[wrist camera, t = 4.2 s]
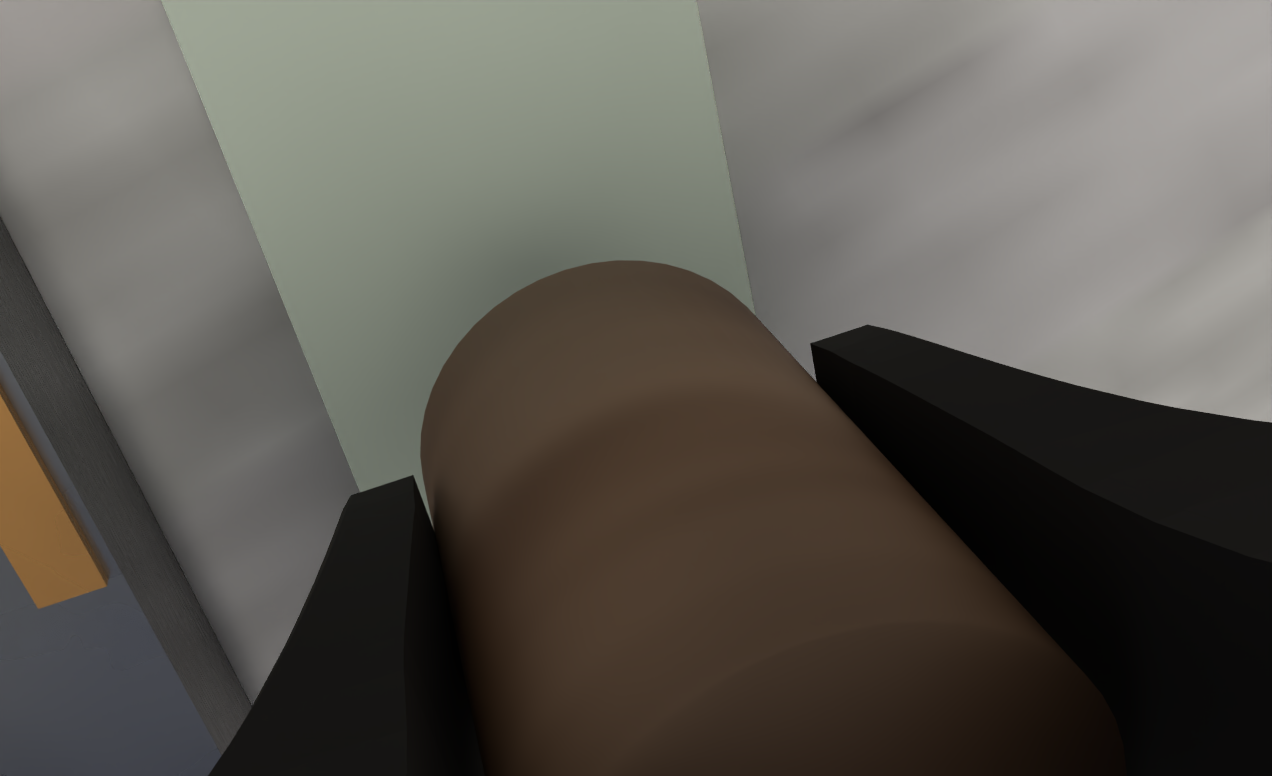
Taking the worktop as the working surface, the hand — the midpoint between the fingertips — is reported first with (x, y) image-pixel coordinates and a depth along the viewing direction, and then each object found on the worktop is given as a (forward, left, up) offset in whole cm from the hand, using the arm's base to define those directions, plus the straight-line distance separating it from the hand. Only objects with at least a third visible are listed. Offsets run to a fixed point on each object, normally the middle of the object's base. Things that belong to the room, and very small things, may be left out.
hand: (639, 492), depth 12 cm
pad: (0, 0, -9) cm, 9 cm away
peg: (0, 0, -1) cm, 1 cm away
